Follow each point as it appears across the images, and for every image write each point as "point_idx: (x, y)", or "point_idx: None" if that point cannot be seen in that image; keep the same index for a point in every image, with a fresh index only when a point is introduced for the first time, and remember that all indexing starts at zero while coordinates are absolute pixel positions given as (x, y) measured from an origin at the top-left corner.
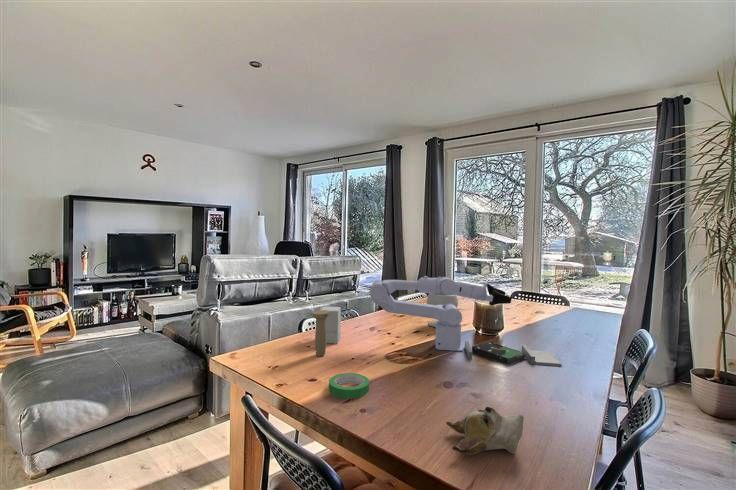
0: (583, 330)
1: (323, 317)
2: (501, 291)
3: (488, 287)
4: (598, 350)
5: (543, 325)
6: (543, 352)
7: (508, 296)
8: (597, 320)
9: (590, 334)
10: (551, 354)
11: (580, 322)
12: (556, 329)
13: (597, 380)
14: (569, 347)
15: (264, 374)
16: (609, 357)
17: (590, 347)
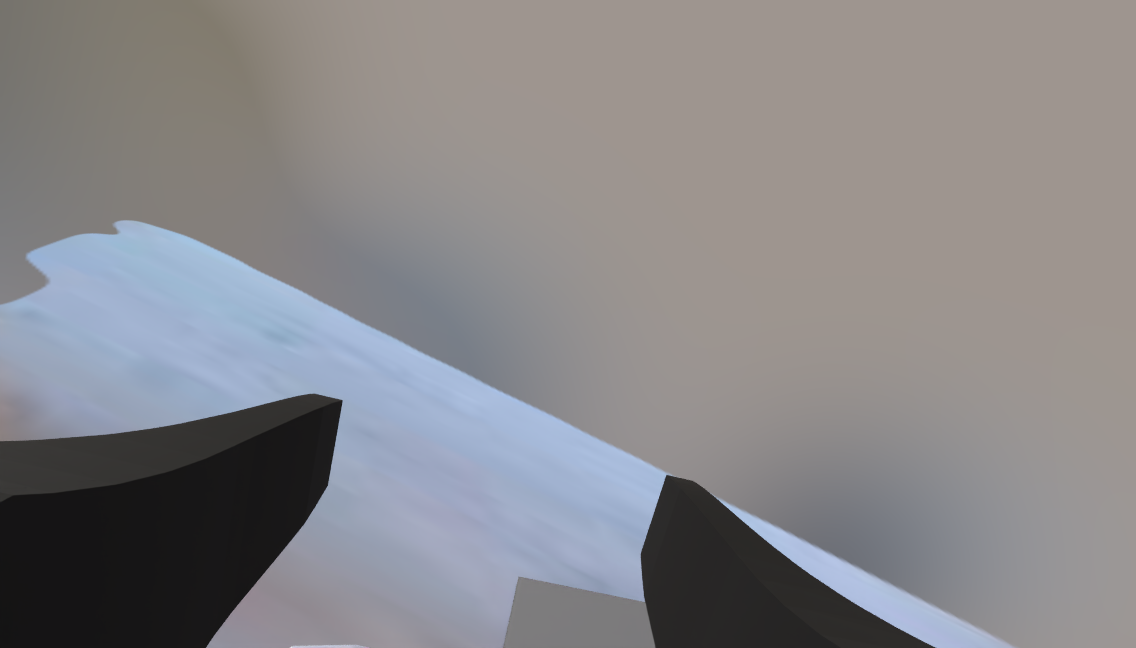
0: (233, 324)
1: None
2: (303, 429)
3: (28, 608)
4: (473, 402)
5: (48, 382)
6: (541, 618)
7: (709, 497)
8: (154, 253)
9: (290, 333)
10: (572, 592)
11: (135, 285)
12: (155, 375)
13: (827, 571)
14: (427, 459)
15: None
16: (548, 414)
17: (437, 403)
